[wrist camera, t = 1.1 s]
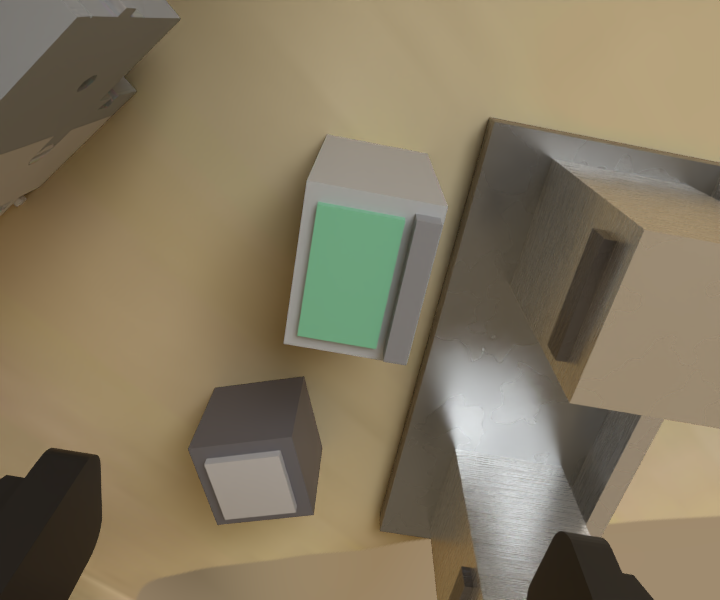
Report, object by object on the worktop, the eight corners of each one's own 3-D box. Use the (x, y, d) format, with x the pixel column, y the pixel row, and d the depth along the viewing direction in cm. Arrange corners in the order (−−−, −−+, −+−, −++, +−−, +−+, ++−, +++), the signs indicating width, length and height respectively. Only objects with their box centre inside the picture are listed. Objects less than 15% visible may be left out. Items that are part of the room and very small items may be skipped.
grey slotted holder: (489, 117, 24) (559, 175, 15) (732, 165, 25) (942, 249, 15) (379, 515, 35) (381, 692, 25) (551, 541, 35) (613, 723, 26)
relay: (215, 386, 31) (185, 454, 26) (304, 375, 30) (290, 442, 25) (239, 456, 33) (215, 531, 28) (322, 447, 32) (312, 521, 28)
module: (326, 134, 25) (304, 186, 17) (427, 153, 25) (450, 213, 17) (308, 259, 27) (280, 354, 19) (398, 275, 27) (407, 375, 20)
